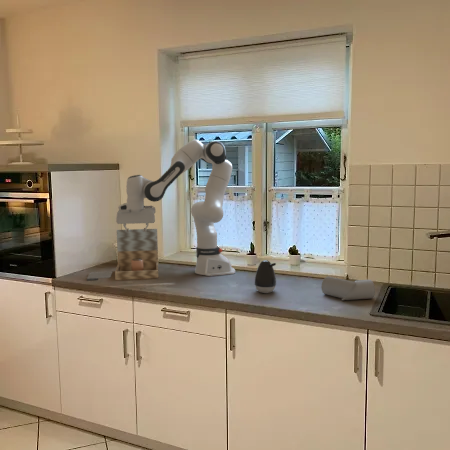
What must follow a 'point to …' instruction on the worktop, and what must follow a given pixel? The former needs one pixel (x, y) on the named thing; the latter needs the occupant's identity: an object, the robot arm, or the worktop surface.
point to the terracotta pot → (137, 264)
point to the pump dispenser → (265, 277)
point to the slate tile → (99, 275)
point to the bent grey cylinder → (348, 288)
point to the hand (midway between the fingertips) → (136, 231)
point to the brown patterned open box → (137, 253)
